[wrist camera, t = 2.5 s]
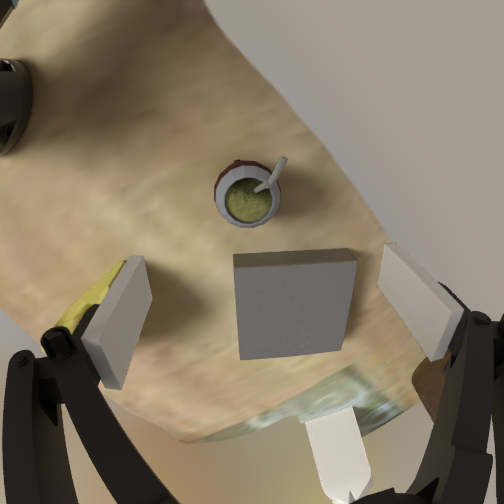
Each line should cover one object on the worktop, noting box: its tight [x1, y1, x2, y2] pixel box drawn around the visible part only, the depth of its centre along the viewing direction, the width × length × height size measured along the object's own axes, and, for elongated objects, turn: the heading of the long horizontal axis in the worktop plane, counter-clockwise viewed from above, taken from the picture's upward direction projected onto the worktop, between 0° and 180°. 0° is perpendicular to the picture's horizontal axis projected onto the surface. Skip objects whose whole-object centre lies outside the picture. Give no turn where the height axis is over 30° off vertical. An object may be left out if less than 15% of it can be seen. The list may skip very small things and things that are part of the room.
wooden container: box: [412, 349, 451, 422], centre depth 46 cm, size 15×15×22 cm
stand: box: [233, 248, 358, 360], centre depth 42 cm, size 16×16×4 cm
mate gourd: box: [214, 157, 288, 228], centre depth 29 cm, size 8×8×15 cm
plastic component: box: [41, 261, 140, 354], centre depth 38 cm, size 20×7×10 cm, turn 125°
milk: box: [305, 407, 373, 504], centre depth 50 cm, size 12×12×26 cm
